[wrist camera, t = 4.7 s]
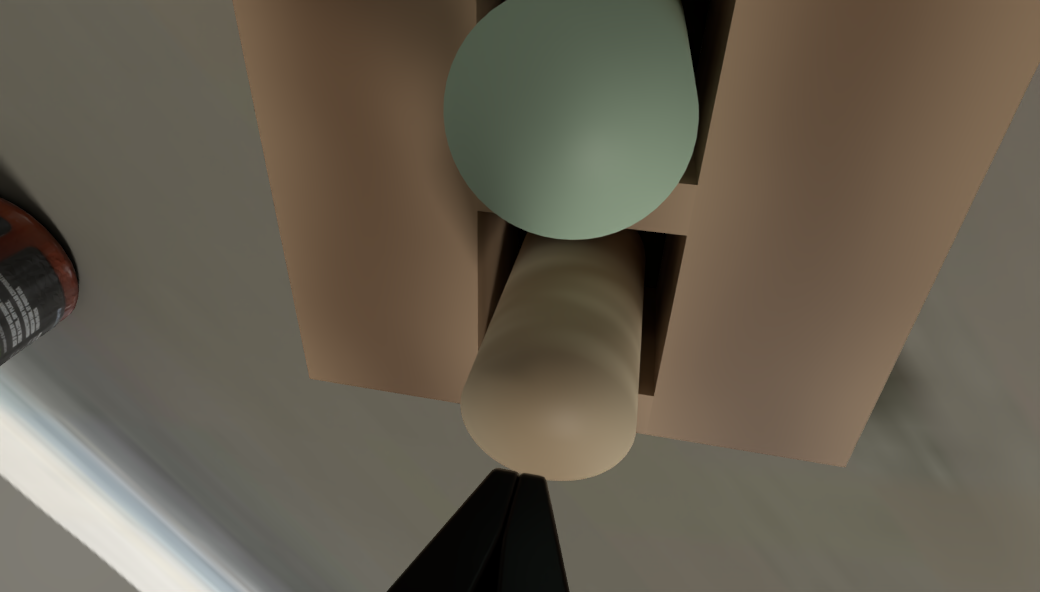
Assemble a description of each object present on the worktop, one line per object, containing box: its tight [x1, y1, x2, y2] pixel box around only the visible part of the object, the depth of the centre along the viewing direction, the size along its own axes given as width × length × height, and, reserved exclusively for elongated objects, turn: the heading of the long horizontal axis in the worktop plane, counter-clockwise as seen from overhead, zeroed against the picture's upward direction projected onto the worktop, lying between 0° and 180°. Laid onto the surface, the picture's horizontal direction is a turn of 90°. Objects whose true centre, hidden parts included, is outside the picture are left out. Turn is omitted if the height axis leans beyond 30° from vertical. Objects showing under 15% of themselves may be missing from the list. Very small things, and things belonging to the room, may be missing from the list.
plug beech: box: [461, 228, 646, 481], centre depth 14 cm, size 3×3×6 cm
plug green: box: [443, 0, 699, 240], centre depth 10 cm, size 3×3×6 cm
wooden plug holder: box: [232, 0, 1040, 467], centre depth 13 cm, size 14×18×5 cm
